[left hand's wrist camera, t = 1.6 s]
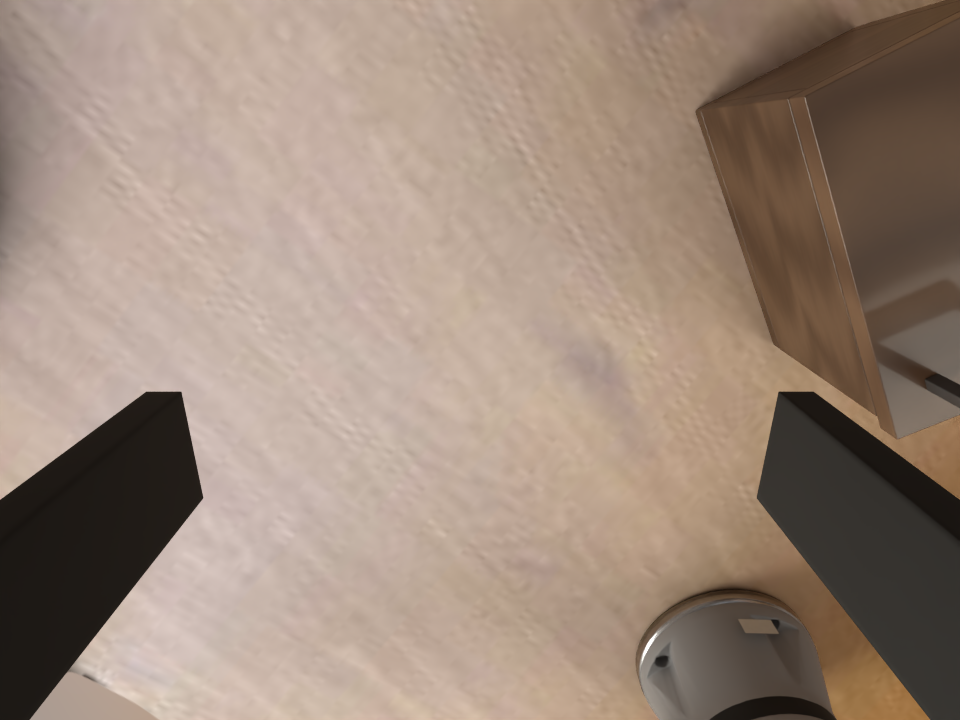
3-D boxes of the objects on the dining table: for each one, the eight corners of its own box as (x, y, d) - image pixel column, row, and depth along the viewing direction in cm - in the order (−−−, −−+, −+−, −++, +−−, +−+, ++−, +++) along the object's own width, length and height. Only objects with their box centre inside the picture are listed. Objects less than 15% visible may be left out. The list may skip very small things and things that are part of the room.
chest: (915, 282, 39) (1077, 335, 28) (773, 344, 40) (876, 416, 30) (857, 26, 33) (1031, -26, 23) (694, 110, 35) (787, 98, 24)
